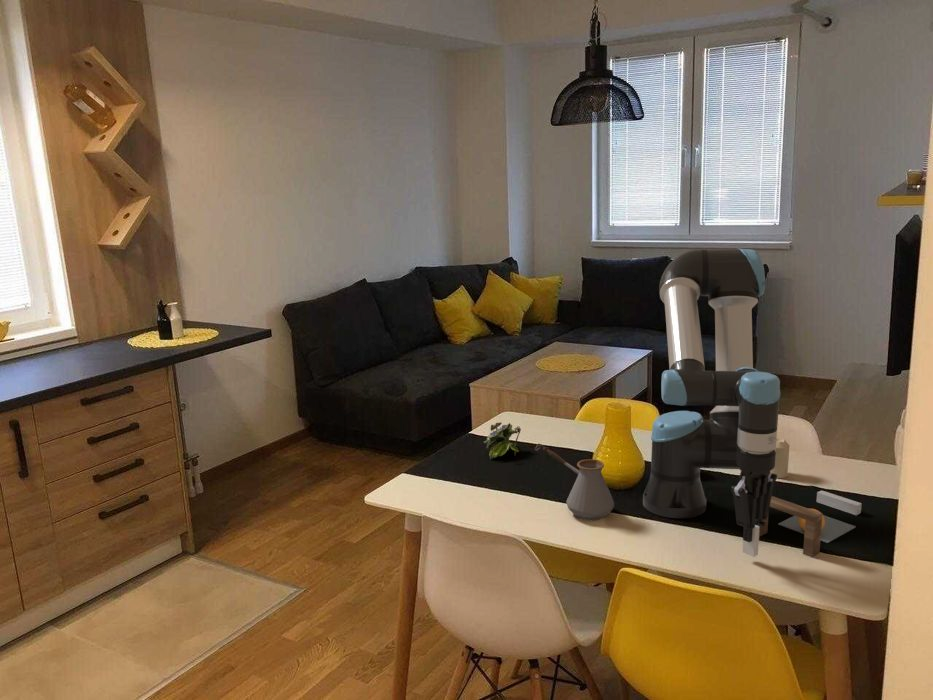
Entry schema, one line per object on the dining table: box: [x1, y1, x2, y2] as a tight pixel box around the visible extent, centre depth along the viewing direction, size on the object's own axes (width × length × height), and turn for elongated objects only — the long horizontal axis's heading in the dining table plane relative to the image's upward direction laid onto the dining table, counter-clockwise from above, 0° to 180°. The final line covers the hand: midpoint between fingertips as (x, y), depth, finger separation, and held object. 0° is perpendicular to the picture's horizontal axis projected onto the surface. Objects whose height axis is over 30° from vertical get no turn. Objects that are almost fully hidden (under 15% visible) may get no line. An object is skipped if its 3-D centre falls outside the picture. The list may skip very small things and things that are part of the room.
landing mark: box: [777, 514, 856, 544], centre depth 182 cm, size 12×12×1 cm
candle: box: [770, 438, 790, 479], centre depth 210 cm, size 6×6×10 cm
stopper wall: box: [816, 490, 862, 516], centre depth 191 cm, size 10×2×2 cm, turn 37°
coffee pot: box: [534, 443, 615, 521], centre depth 193 cm, size 21×12×15 cm, turn 51°
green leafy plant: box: [483, 421, 522, 460], centre depth 232 cm, size 11×11×12 cm
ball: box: [798, 508, 825, 531], centre depth 178 cm, size 6×6×6 cm
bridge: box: [759, 495, 824, 558], centre depth 173 cm, size 3×14×9 cm, turn 36°
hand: (750, 553), depth 166 cm, fingers closed
